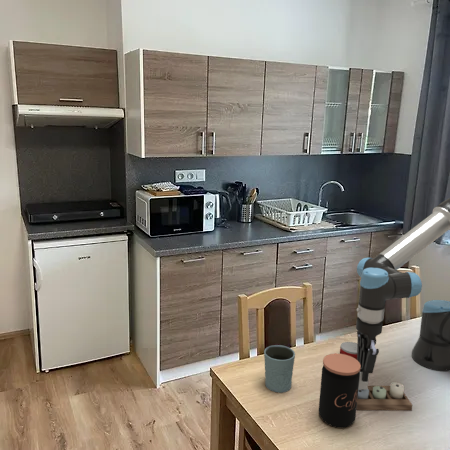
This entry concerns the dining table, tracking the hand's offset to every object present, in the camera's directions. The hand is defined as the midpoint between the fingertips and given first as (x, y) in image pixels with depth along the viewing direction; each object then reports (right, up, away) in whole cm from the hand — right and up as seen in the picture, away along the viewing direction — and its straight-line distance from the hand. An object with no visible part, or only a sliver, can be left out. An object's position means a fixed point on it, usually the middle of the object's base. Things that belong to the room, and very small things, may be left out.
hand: (362, 388), depth 139 cm
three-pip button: (0, -4, +1) cm, 4 cm away
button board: (+5, -4, +1) cm, 7 cm away
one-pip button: (+11, -2, +1) cm, 11 cm away
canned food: (0, -1, +15) cm, 15 cm away
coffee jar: (-10, -6, -8) cm, 14 cm away
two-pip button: (+5, -4, +1) cm, 7 cm away
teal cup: (-26, -2, +8) cm, 27 cm away
